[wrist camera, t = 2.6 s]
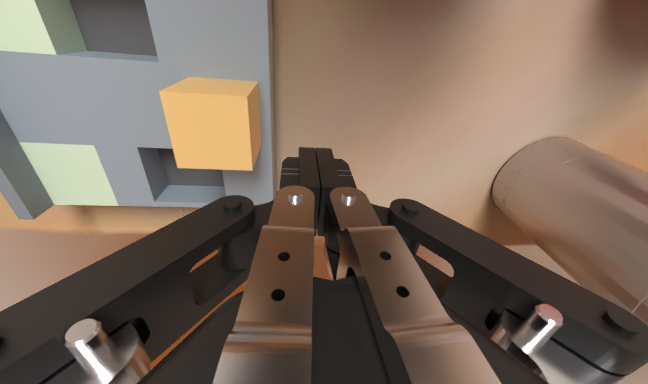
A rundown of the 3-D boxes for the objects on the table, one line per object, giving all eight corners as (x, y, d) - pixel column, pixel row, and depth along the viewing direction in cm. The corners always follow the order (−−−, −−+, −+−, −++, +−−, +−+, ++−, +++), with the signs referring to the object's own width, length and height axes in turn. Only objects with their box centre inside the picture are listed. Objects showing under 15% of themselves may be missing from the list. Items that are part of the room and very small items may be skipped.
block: (258, 81, 18) (247, 96, 14) (261, 143, 20) (252, 170, 17) (189, 76, 18) (159, 91, 14) (200, 140, 20) (177, 168, 16)
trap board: (271, -28, 17) (261, -45, 13) (276, 191, 26) (271, 223, 22) (-60, -65, 15) (-196, -98, 11) (67, 185, 24) (19, 219, 20)
